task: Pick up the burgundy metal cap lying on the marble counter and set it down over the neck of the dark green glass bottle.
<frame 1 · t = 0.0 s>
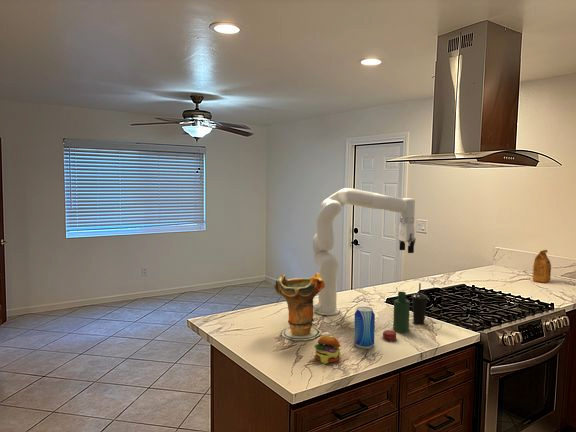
hand: (406, 251, 227), 31 cm above the worktop, tool pointing down, fingers open, 9 cm apart
drinking cup: (418, 323, 203), on the worktop
cheeseburger: (327, 358, 163), on the worktop
decorative vase: (299, 334, 189), on the worktop
beer can: (364, 346, 176), on the worktop
bottle: (401, 330, 194), on the worktop
cap: (389, 338, 183), on the worktop
coffee package: (541, 281, 289), on the worktop
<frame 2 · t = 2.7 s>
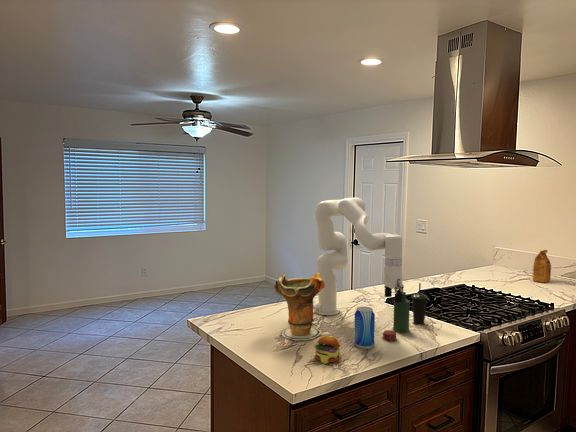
hand: (393, 299, 186), 16 cm above the worktop, tool pointing down, fingers open, 9 cm apart
nothing on the worktop moved.
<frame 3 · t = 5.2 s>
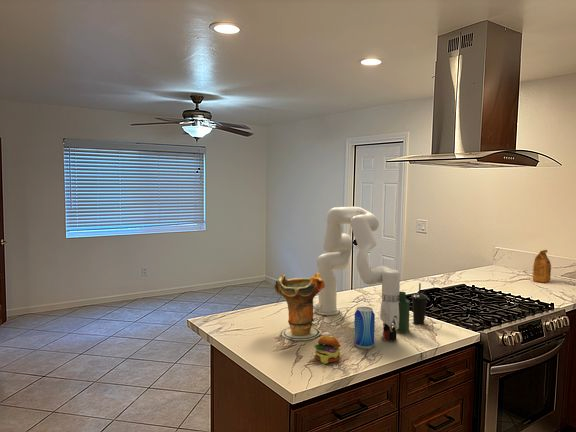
hand: (389, 337, 183), 1 cm above the worktop, tool pointing down, fingers closed on cap, 5 cm apart
cap: (389, 338, 183), on the worktop, touching gripper
everything else where it was.
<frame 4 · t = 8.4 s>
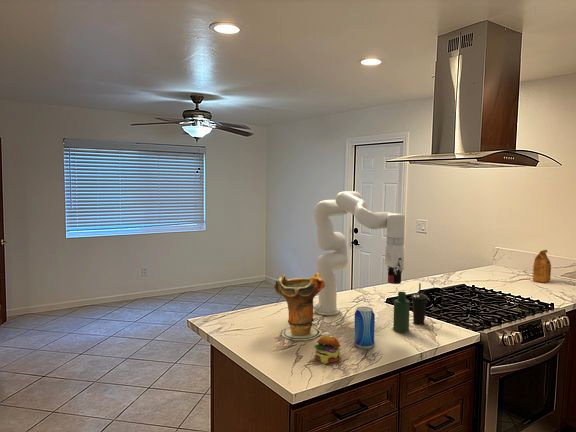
hand: (394, 281, 184), 25 cm above the worktop, tool pointing down, fingers closed on cap, 5 cm apart
cap: (394, 282, 184), point 25 cm above the worktop, touching gripper
everything else where it was.
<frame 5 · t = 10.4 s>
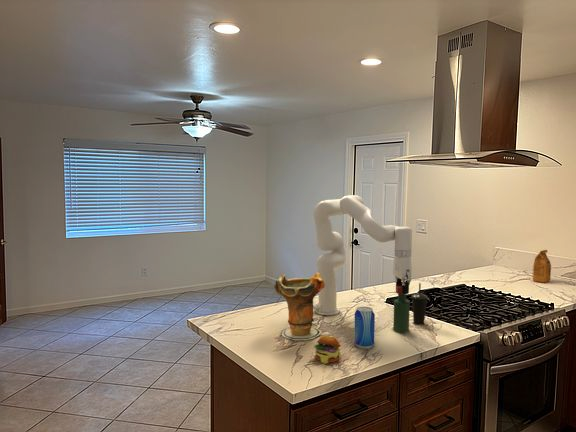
hand: (402, 291, 192), 19 cm above the worktop, tool pointing down, fingers closed on cap, 5 cm apart
cap: (402, 292, 192), point 18 cm above the worktop, touching gripper
everything else where it was.
when the fingers open (16 cm above the worktop, at t = 11.6 s): cap stays where it is, resting on bottle.
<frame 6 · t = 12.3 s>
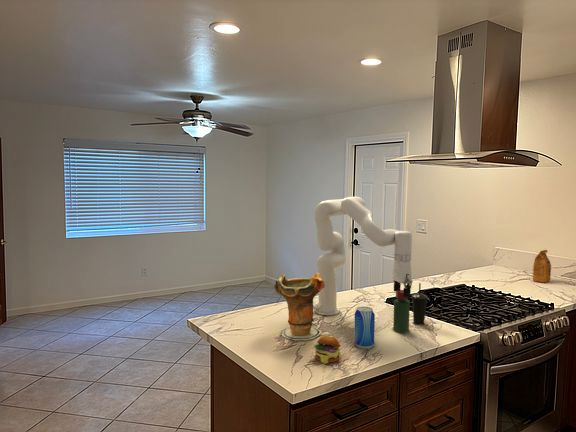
hand: (401, 293, 193), 17 cm above the worktop, tool pointing down, fingers open, 9 cm apart
cap: (402, 297, 193), point 16 cm above the worktop, touching bottle
everything else where it was.
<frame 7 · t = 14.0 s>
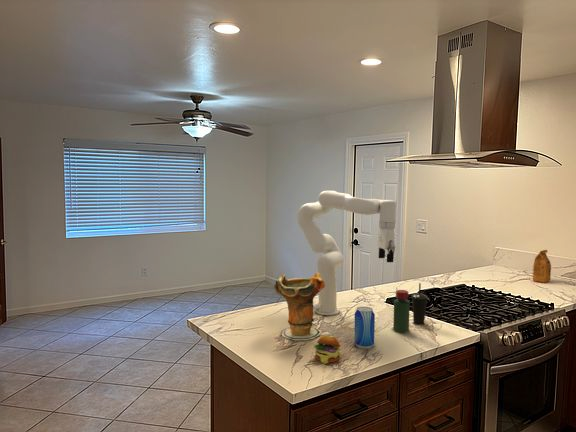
hand: (385, 260, 202), 31 cm above the worktop, tool pointing down, fingers open, 9 cm apart
nothing on the worktop moved.
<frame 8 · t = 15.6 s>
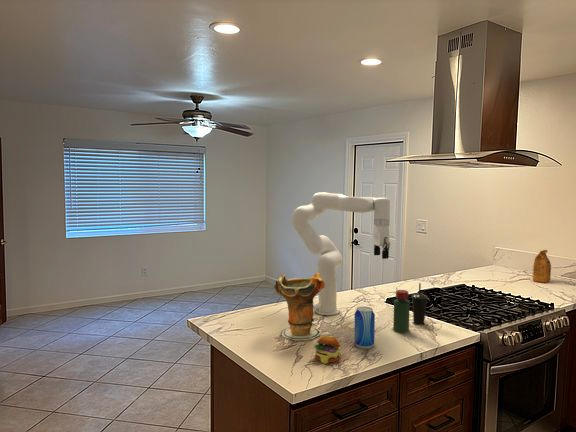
hand: (381, 256, 205), 32 cm above the worktop, tool pointing down, fingers open, 9 cm apart
nothing on the worktop moved.
at the end: cap 0.1 cm off-centre in the bottle, point 15.6 cm above the bottle's base; cap tilted 0°; the gripper is holding nothing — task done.
